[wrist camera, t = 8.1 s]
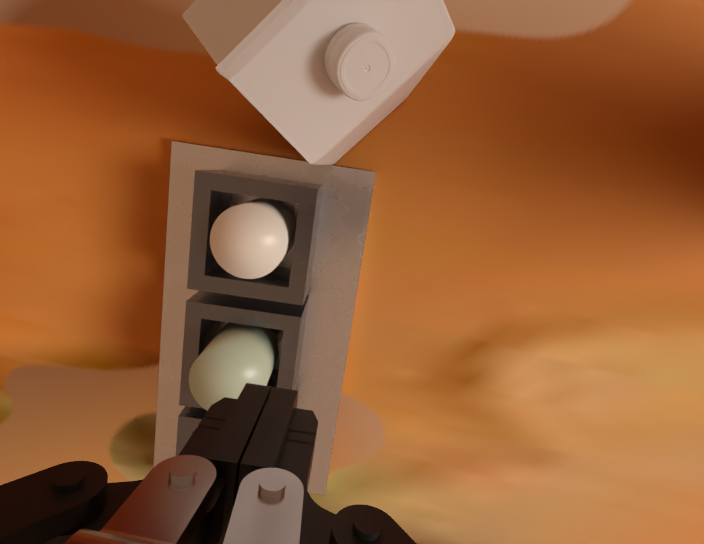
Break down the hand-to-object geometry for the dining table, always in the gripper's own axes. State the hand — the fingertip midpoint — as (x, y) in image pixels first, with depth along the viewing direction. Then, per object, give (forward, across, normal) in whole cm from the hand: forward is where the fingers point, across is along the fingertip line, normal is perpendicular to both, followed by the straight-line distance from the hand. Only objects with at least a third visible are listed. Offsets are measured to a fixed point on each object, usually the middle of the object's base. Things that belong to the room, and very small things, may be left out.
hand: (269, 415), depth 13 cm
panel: (+21, +5, +6) cm, 23 cm away
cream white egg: (+19, +5, -2) cm, 20 cm away
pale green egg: (+17, +5, +6) cm, 19 cm away
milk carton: (+22, +1, -12) cm, 25 cm away
